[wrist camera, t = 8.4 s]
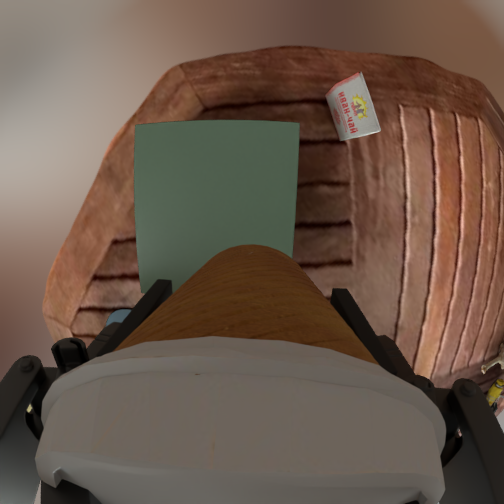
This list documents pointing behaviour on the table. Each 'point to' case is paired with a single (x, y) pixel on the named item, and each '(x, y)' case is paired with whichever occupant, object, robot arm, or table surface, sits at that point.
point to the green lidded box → (211, 192)
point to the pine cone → (495, 360)
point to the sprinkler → (495, 393)
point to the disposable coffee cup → (242, 403)
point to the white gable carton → (352, 108)
